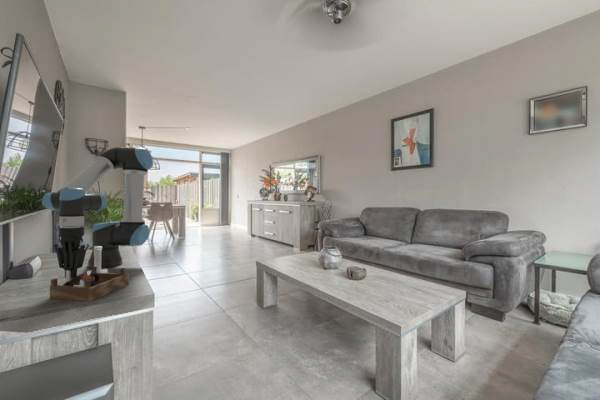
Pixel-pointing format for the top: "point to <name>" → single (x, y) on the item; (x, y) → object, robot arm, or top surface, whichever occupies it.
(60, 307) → the top surface
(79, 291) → the brown wooden tray
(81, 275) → the broken pottery fragment
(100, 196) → the robot arm
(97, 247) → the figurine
